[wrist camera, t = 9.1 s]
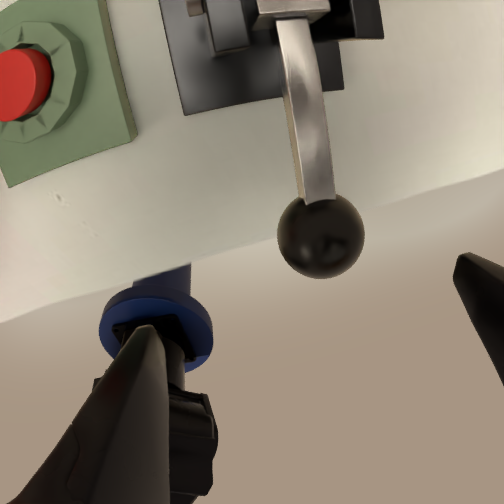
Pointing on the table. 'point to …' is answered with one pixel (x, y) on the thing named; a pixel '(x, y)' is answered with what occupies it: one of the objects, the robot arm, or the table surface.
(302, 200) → the lever
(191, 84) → the bracket
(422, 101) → the table surface
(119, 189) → the table surface
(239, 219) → the table surface
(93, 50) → the control block
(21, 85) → the button
